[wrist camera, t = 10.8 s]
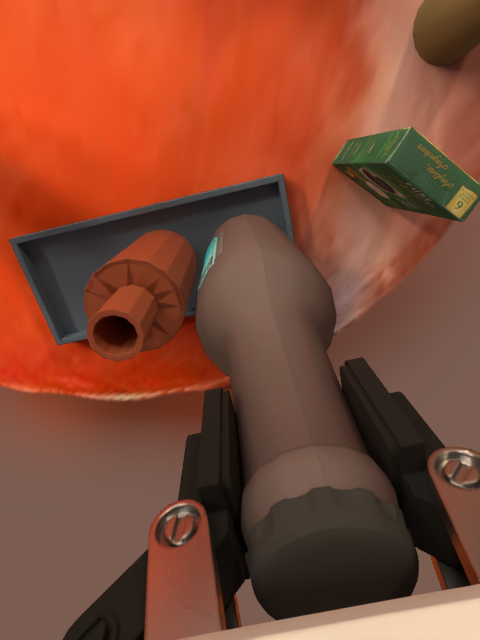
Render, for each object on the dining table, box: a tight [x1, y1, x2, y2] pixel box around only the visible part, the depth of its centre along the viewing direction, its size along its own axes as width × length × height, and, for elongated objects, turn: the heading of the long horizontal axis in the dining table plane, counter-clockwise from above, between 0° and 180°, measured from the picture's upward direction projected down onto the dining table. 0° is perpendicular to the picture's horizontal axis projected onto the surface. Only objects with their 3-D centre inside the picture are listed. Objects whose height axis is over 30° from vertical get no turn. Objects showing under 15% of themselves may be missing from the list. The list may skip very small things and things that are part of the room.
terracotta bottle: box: [84, 229, 197, 361], centre depth 31 cm, size 7×7×19 cm
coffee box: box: [332, 127, 480, 222], centre depth 31 cm, size 8×3×13 cm, turn 57°
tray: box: [9, 174, 295, 345], centre depth 39 cm, size 28×12×2 cm, turn 103°
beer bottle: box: [195, 214, 419, 620], centre depth 21 cm, size 8×8×30 cm
